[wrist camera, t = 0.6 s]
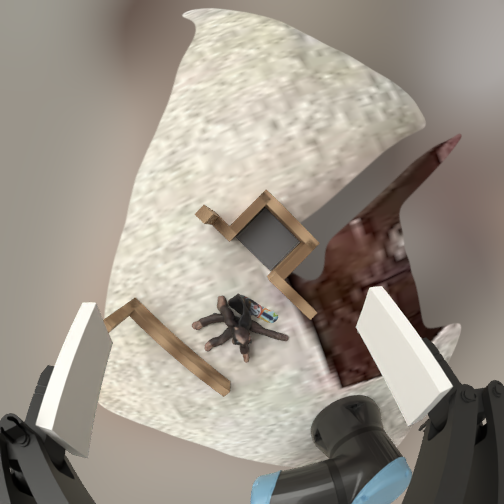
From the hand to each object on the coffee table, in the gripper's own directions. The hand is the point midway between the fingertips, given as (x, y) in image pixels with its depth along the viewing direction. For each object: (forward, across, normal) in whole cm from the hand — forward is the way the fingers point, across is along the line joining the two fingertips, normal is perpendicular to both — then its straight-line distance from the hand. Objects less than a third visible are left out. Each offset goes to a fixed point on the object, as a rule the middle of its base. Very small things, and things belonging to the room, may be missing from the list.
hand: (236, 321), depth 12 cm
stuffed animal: (+23, -3, +24) cm, 33 cm away
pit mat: (+28, -7, +10) cm, 31 cm away
